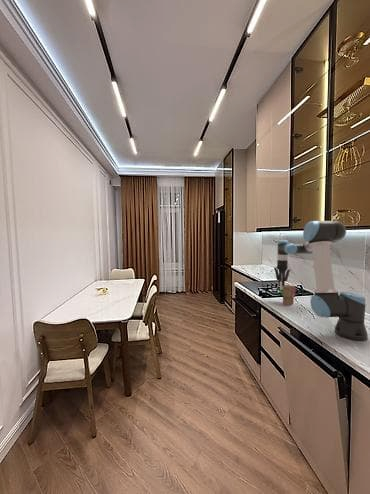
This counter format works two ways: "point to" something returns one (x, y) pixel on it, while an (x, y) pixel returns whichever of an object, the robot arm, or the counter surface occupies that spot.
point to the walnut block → (288, 295)
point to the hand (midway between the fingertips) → (281, 289)
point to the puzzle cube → (289, 284)
